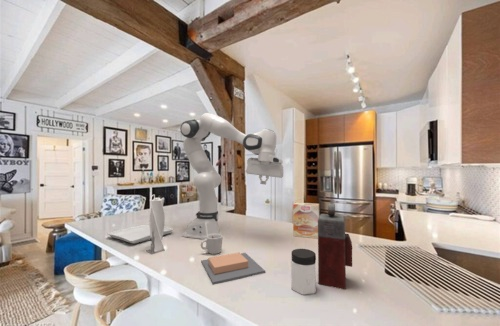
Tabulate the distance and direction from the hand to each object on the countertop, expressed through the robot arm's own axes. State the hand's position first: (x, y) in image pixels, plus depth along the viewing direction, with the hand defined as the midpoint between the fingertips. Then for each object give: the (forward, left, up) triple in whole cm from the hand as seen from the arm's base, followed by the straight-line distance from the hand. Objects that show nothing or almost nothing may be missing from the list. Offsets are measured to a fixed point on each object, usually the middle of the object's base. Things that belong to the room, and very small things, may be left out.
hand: (263, 184), depth 117 cm
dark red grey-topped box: (+29, -34, -33) cm, 55 cm away
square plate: (-75, +6, -33) cm, 82 cm away
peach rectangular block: (-7, -25, -30) cm, 40 cm away
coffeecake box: (+25, +19, -33) cm, 45 cm away
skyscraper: (-53, -14, -33) cm, 64 cm away
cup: (-24, -14, -33) cm, 43 cm away
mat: (-11, -28, -33) cm, 44 cm away
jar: (+17, -40, -33) cm, 54 cm away
